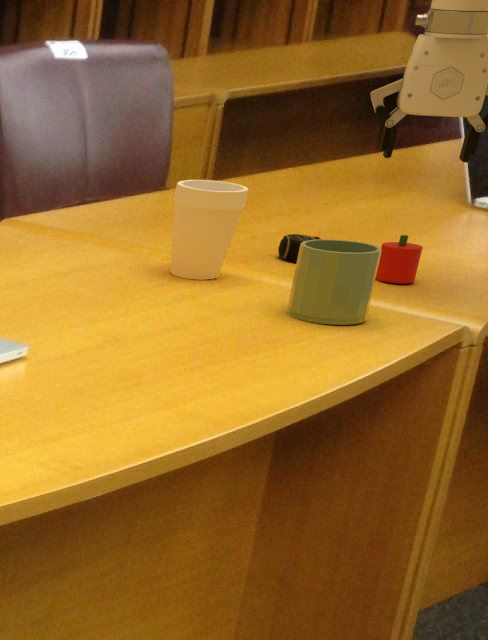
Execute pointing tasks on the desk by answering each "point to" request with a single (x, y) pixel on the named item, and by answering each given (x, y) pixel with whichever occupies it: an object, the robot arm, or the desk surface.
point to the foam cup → (204, 226)
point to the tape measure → (292, 246)
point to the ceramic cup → (333, 281)
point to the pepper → (399, 261)
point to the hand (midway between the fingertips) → (424, 158)
